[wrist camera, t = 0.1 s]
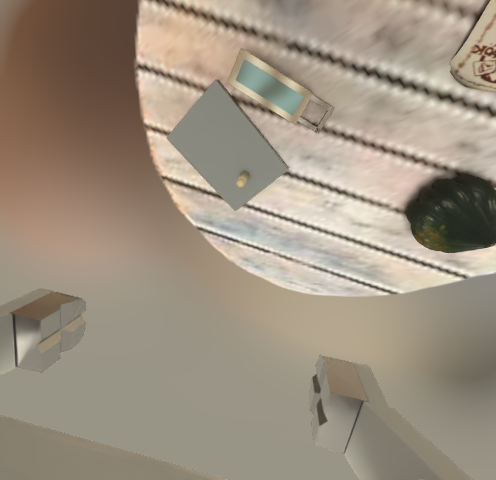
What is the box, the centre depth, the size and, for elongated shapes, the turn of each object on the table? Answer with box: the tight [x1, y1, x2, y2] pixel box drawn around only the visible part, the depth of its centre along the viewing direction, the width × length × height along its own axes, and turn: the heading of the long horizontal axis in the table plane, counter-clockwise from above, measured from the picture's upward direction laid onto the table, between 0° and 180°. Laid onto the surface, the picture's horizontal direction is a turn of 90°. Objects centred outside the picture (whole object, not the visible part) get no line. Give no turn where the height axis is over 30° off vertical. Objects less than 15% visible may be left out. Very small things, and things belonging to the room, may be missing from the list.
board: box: [167, 80, 289, 211], centre depth 54 cm, size 16×22×7 cm
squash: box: [406, 175, 496, 253], centre depth 50 cm, size 14×15×15 cm
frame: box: [227, 48, 334, 133], centre depth 48 cm, size 19×6×5 cm, turn 62°
